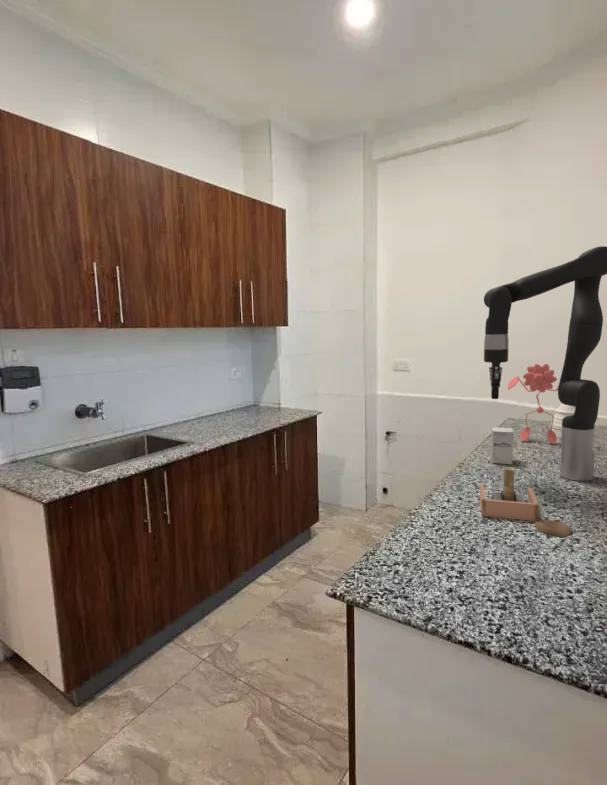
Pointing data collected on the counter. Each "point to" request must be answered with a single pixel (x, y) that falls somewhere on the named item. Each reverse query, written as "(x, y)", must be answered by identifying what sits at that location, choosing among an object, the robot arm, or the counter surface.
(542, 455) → the counter surface
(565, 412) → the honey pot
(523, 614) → the counter surface
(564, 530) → the lid
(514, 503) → the three-sided wooden frame
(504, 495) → the mounted wooden block
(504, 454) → the supplement box
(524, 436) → the figurine
